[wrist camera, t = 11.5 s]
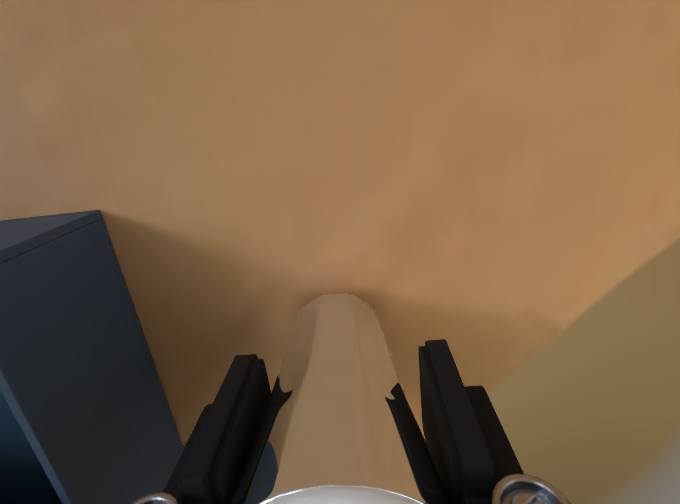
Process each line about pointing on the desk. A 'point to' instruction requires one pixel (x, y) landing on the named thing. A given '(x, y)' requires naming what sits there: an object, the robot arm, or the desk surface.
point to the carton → (75, 371)
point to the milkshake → (338, 419)
